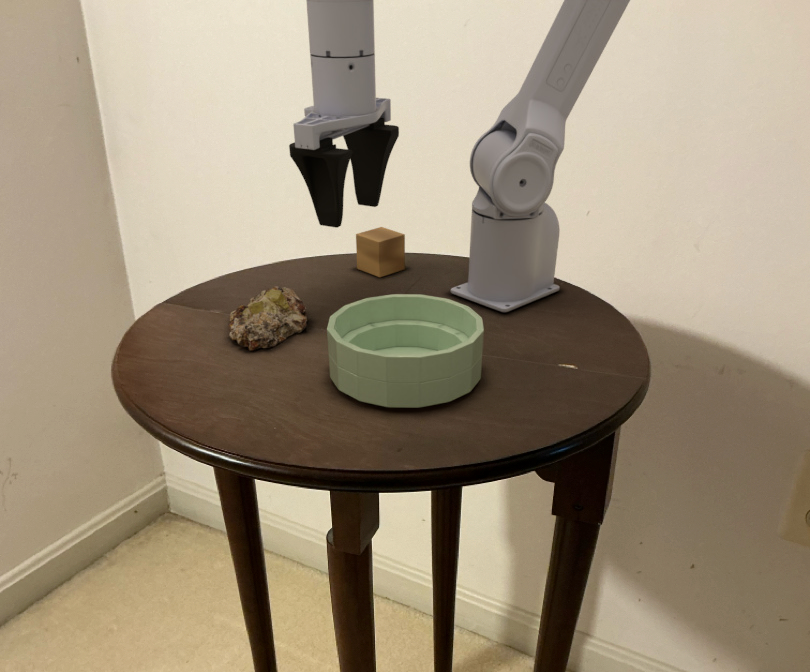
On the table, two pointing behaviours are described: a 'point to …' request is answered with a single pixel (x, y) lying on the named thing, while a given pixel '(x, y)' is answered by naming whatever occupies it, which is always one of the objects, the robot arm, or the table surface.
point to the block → (380, 251)
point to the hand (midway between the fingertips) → (349, 215)
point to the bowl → (405, 350)
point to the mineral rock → (268, 319)
